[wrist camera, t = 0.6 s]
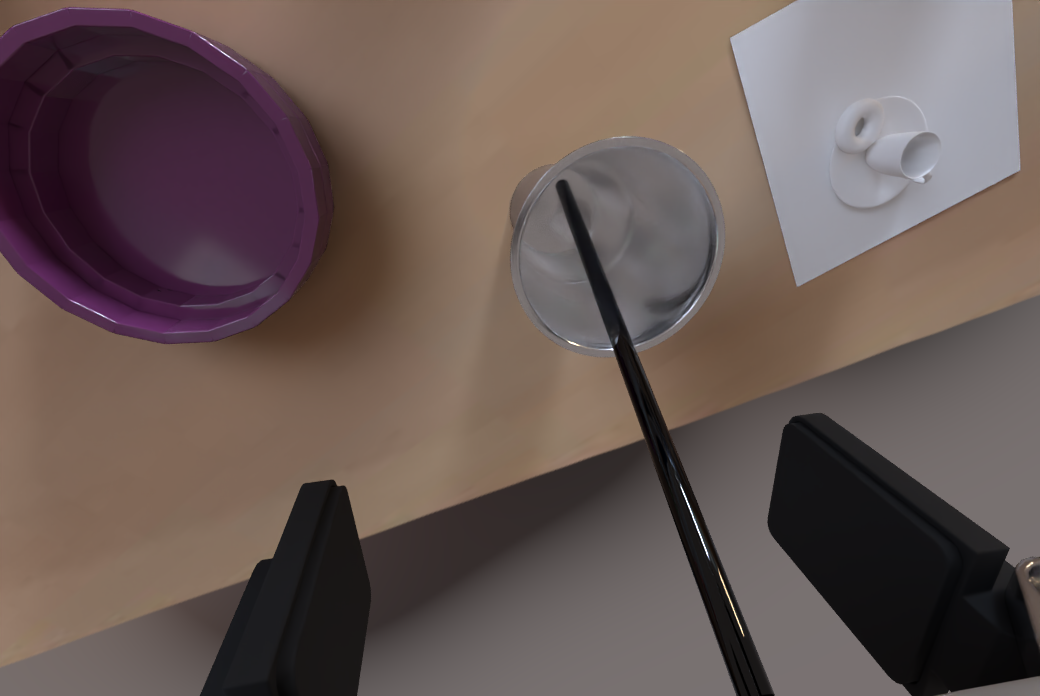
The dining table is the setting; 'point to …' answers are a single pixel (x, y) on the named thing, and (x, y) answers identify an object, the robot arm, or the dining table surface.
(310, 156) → the bowl
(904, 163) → the teacup and saucer
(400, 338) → the dining table surface
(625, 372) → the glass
